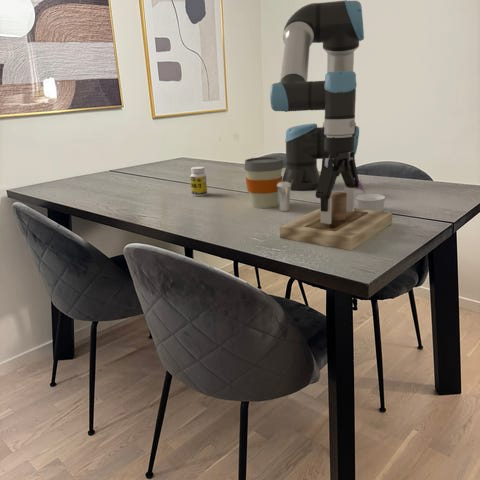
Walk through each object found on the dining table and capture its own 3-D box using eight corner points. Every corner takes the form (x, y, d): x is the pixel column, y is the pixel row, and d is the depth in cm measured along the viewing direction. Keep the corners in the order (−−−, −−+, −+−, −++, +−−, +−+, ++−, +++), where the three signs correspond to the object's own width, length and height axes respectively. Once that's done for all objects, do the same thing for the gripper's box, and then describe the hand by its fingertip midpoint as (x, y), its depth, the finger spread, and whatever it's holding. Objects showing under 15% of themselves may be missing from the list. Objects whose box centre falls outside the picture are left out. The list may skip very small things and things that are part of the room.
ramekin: (370, 215, 141) (371, 201, 140) (348, 210, 149) (349, 196, 147) (391, 210, 146) (391, 196, 144) (369, 205, 153) (369, 192, 152)
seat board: (279, 237, 125) (279, 225, 124) (326, 214, 144) (326, 204, 143) (351, 250, 113) (351, 237, 112) (391, 223, 132) (392, 212, 131)
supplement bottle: (189, 196, 178) (186, 168, 175) (196, 192, 183) (194, 166, 180) (203, 196, 176) (201, 169, 173) (209, 193, 181) (208, 166, 178)
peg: (325, 231, 128) (326, 194, 125) (333, 227, 132) (334, 191, 129) (341, 233, 126) (342, 196, 123) (348, 229, 129) (349, 193, 126)
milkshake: (289, 212, 148) (289, 180, 145) (274, 211, 151) (273, 179, 148) (296, 209, 152) (295, 178, 149) (281, 207, 155) (280, 177, 152)
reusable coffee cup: (255, 199, 168) (253, 156, 163) (289, 201, 162) (288, 157, 158) (239, 208, 157) (237, 162, 153) (275, 210, 152) (274, 163, 147)
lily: (361, 204, 158) (375, 178, 157) (330, 188, 162) (343, 163, 161) (366, 207, 170) (379, 183, 168) (337, 192, 174) (349, 168, 172)
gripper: (329, 141, 109) (328, 230, 116) (373, 131, 128) (370, 208, 135) (301, 140, 114) (301, 226, 120) (347, 130, 132) (345, 205, 139)
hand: (337, 217), depth 127 cm, fingers open, 13 cm apart
